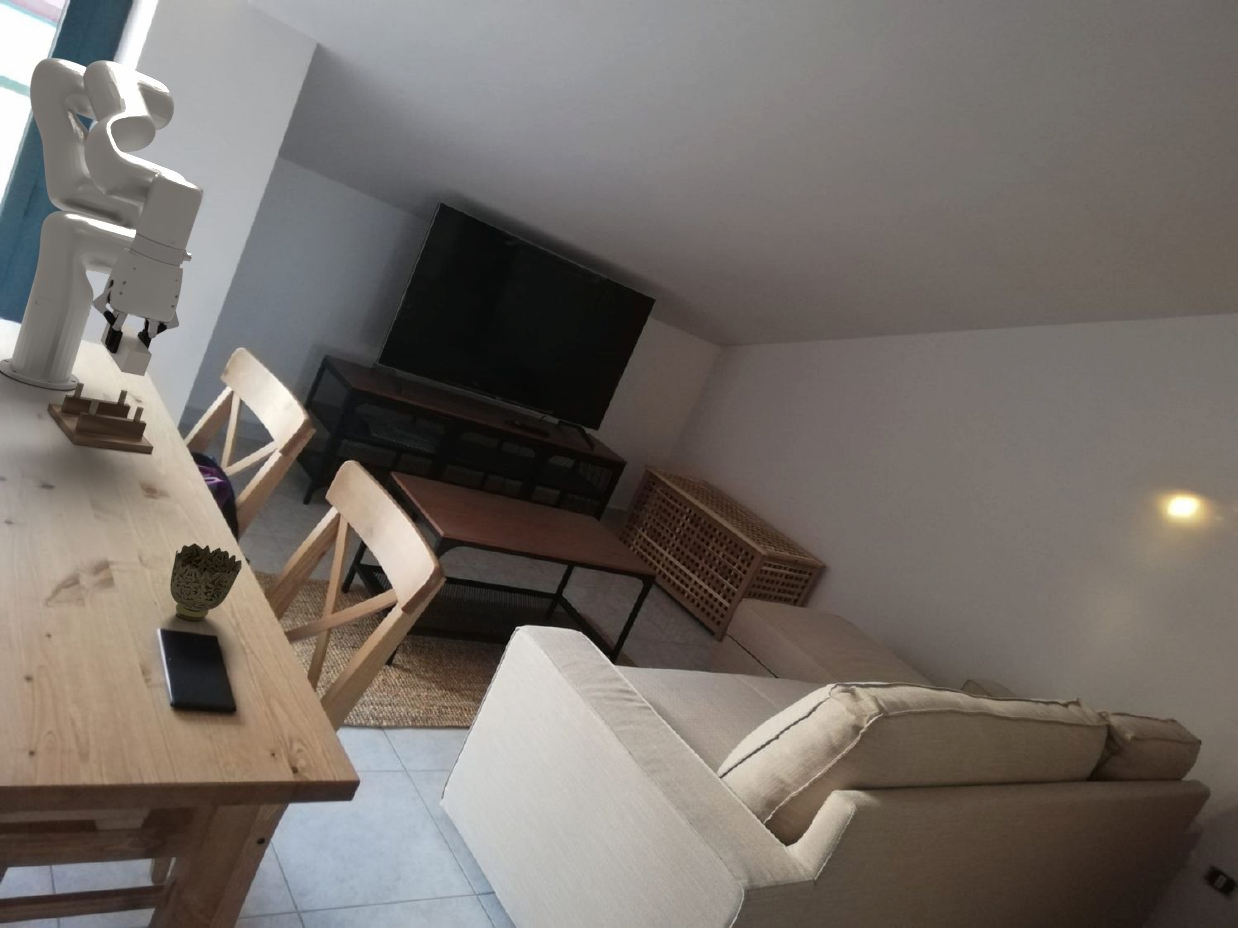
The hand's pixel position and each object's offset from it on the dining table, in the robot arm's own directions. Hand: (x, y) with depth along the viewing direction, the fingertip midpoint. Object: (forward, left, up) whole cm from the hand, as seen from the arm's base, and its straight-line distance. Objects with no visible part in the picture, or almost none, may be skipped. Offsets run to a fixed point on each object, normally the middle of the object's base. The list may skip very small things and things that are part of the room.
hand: (124, 352), depth 145 cm
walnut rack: (0, 0, -15) cm, 15 cm away
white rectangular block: (0, 0, -1) cm, 1 cm away
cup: (+61, -8, -15) cm, 63 cm away
